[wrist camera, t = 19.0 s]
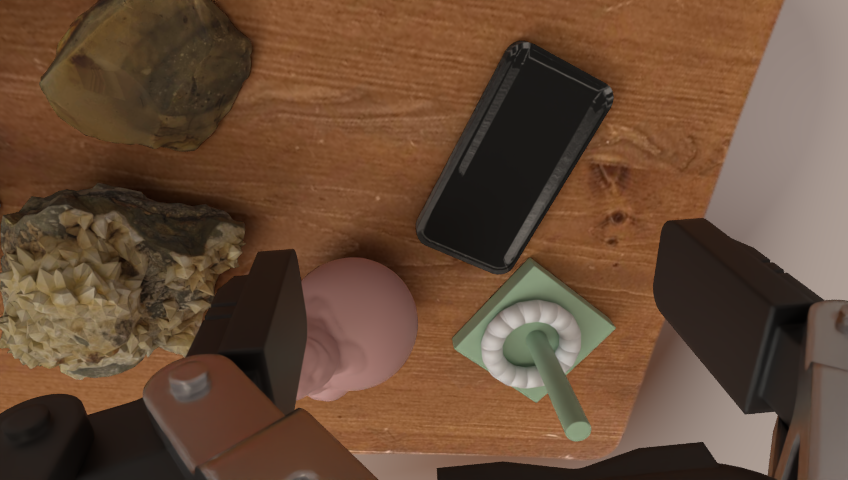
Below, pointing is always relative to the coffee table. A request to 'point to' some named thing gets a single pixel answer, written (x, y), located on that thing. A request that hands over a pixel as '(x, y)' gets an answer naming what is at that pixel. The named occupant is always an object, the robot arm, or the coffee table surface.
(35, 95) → the coffee table surface
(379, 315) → the figurine
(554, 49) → the coffee table surface
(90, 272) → the mineral specimen
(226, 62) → the decorative stone
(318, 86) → the coffee table surface
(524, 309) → the white segmented ring
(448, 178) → the phone
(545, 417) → the coffee table surface
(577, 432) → the peg stand
